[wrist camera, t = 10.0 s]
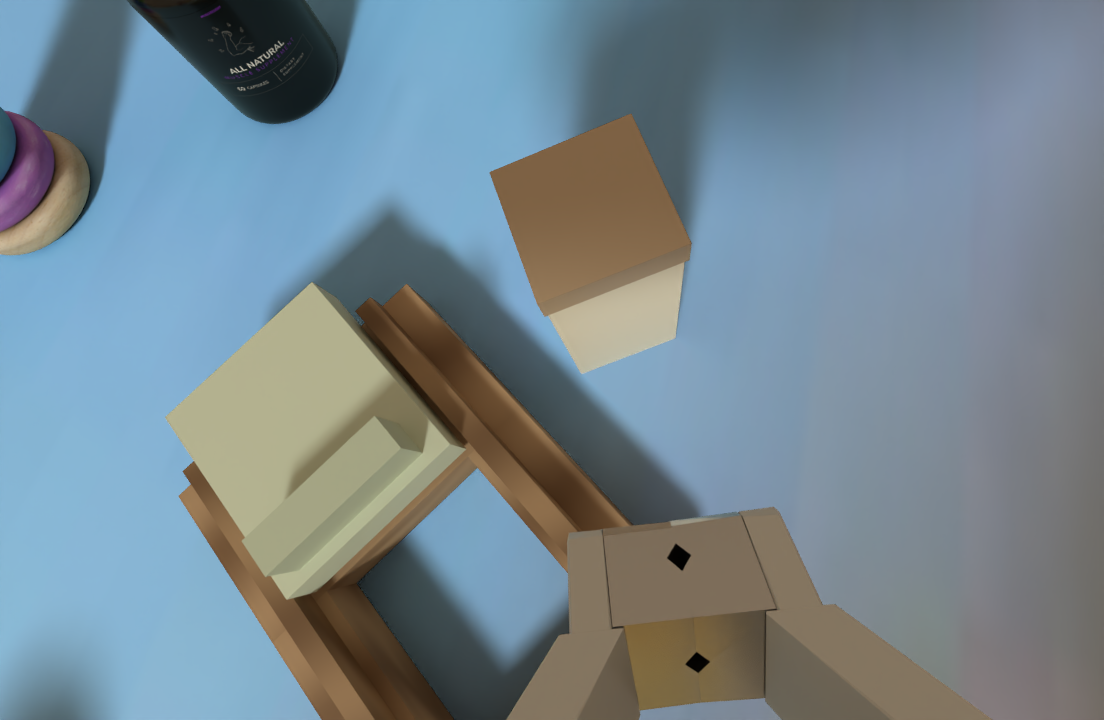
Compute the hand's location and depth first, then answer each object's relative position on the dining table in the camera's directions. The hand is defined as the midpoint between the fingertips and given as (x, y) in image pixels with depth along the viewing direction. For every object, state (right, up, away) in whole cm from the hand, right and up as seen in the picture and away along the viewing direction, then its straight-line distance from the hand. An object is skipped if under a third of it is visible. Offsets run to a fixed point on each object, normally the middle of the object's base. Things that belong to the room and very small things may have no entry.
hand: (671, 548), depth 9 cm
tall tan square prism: (+1, +5, +19) cm, 19 cm away
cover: (-12, 0, +17) cm, 20 cm away
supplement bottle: (-17, +19, +26) cm, 37 cm away
